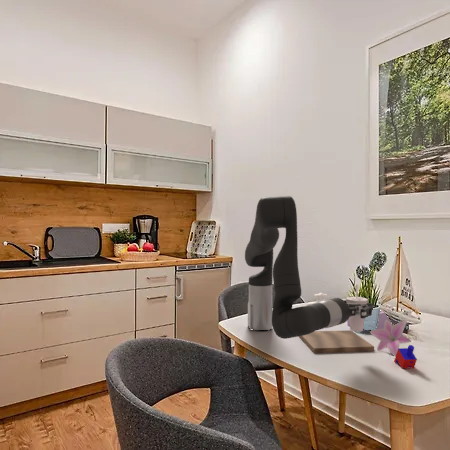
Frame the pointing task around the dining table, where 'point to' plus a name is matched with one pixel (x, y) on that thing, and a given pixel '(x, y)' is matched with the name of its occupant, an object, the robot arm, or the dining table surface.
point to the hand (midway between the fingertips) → (361, 304)
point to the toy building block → (406, 357)
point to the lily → (391, 336)
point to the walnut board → (336, 342)
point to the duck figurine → (318, 298)
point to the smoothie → (356, 321)
